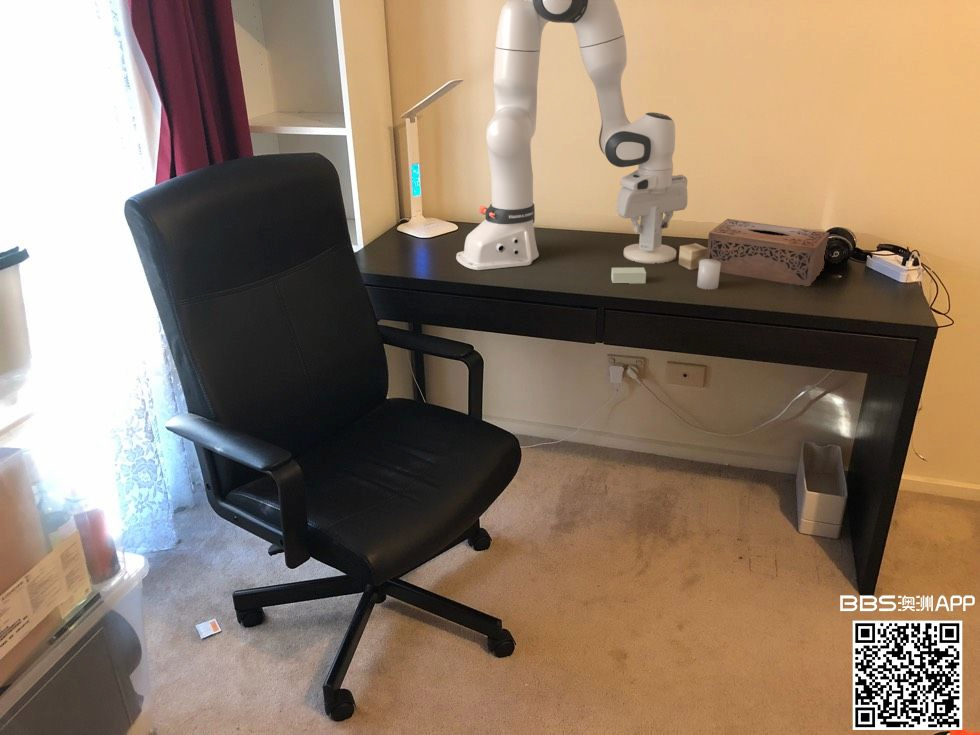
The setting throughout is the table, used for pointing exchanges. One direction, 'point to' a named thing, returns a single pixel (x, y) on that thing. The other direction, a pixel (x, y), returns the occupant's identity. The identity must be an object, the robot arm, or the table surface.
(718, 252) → the tissue box cover
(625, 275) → the sage brick
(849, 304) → the table surface
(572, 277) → the table surface
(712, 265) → the grey plastic cylinder
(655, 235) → the skincare box
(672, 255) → the cream saucer
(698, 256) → the birch block
